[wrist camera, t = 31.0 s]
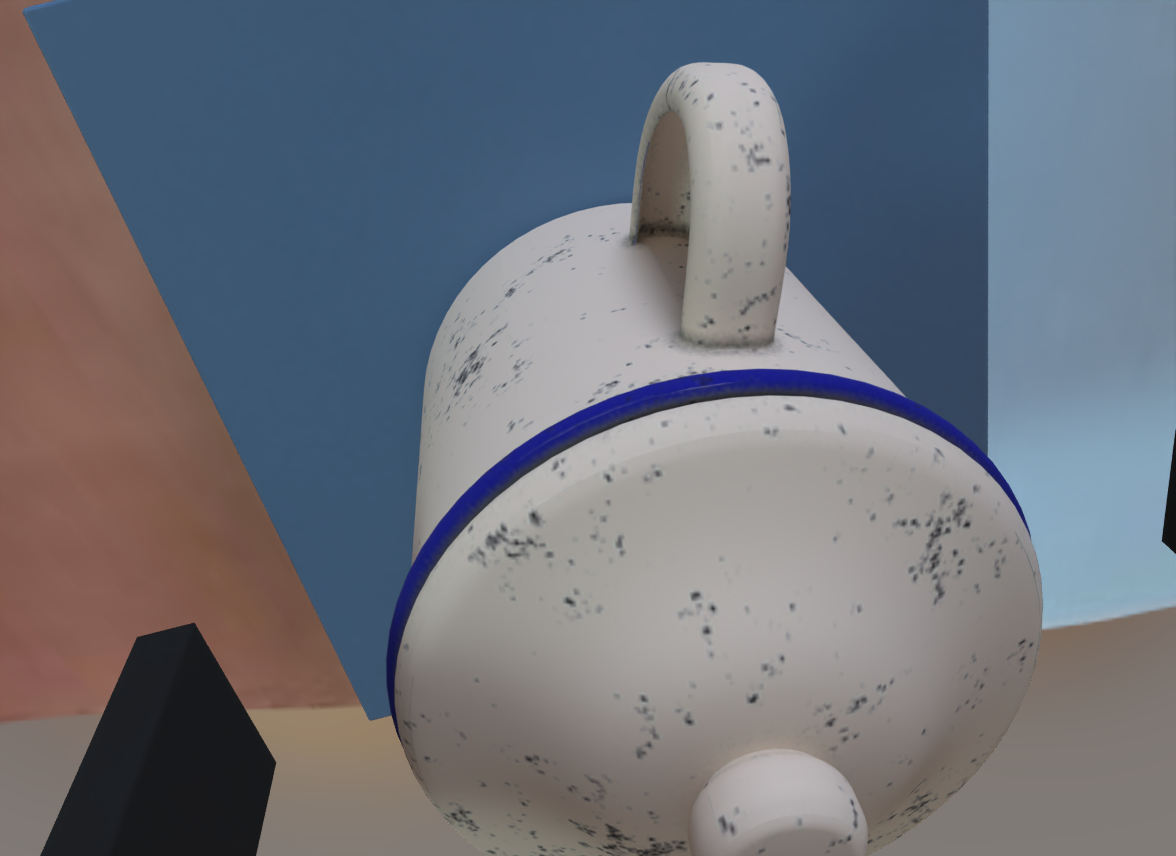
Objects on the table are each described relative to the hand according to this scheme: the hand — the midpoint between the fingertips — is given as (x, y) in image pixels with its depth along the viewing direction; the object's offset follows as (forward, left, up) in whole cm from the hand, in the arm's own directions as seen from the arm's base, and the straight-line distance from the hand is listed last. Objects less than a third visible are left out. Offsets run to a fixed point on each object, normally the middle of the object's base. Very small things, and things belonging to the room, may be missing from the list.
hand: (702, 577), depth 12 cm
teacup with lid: (0, 0, -8) cm, 8 cm away
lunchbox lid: (0, 0, -9) cm, 9 cm away
